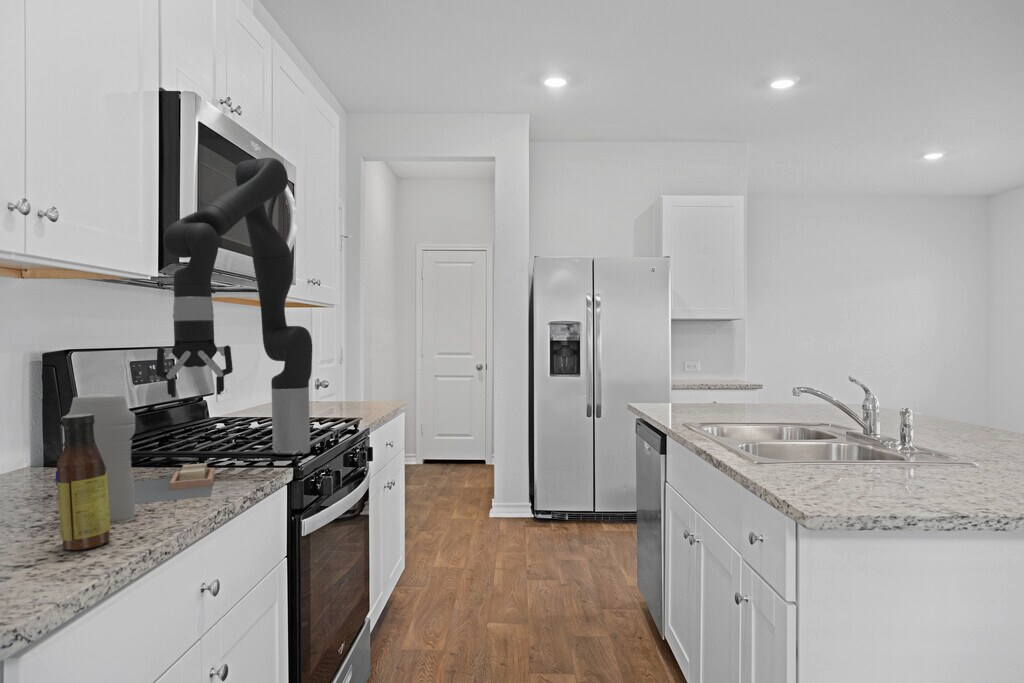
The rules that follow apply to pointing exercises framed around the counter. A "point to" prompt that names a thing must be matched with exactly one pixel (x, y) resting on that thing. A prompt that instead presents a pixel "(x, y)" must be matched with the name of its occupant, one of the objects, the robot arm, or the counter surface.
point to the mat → (166, 491)
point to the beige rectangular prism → (193, 472)
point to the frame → (192, 481)
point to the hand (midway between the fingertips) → (196, 395)
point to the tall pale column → (112, 447)
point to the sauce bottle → (82, 487)
